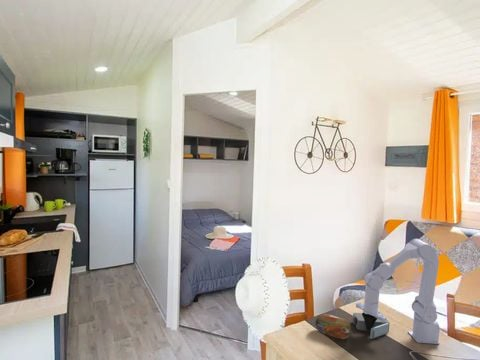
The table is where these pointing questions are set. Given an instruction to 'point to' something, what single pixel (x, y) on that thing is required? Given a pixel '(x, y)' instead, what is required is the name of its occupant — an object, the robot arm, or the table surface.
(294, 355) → the table surface
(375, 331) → the side door
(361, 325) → the camcorder
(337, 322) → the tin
